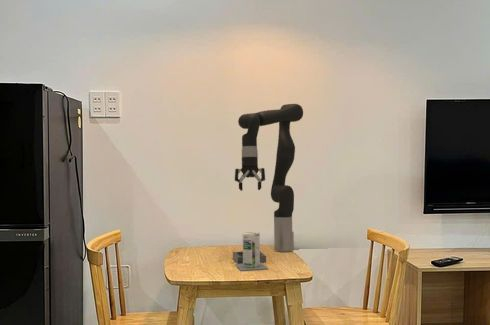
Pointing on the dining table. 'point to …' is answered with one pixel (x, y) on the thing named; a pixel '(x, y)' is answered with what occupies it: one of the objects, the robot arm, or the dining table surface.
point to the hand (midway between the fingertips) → (250, 190)
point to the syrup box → (251, 249)
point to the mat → (260, 267)
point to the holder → (239, 257)
